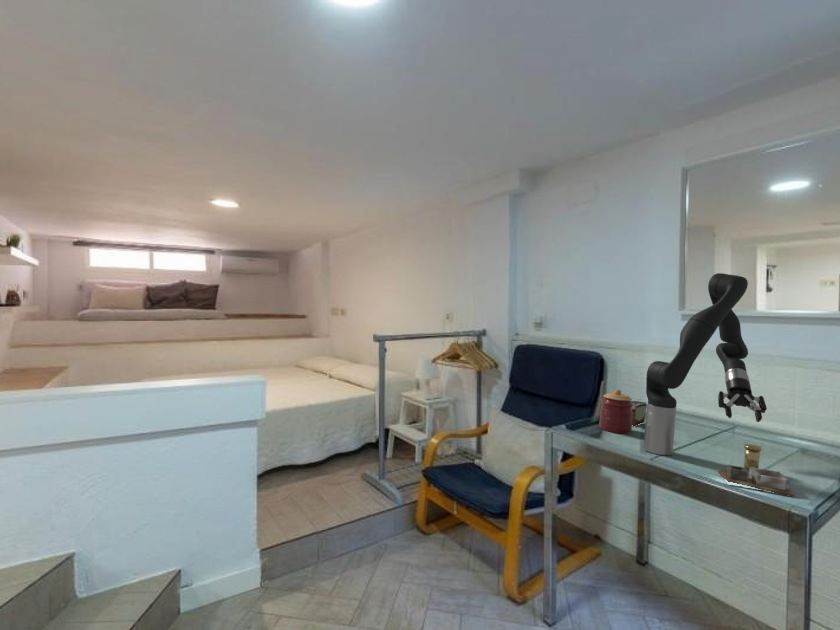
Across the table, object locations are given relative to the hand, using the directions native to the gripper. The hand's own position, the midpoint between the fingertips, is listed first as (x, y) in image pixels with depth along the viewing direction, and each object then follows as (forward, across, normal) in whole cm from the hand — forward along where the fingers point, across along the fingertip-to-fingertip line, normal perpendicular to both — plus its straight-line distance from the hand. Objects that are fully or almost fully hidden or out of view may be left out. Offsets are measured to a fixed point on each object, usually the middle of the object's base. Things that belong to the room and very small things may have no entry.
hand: (744, 418), depth 157 cm
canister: (0, -42, +22) cm, 47 cm away
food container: (-12, -34, +34) cm, 49 cm away
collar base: (+30, -4, -9) cm, 31 cm away
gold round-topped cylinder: (+18, 0, +3) cm, 19 cm away
